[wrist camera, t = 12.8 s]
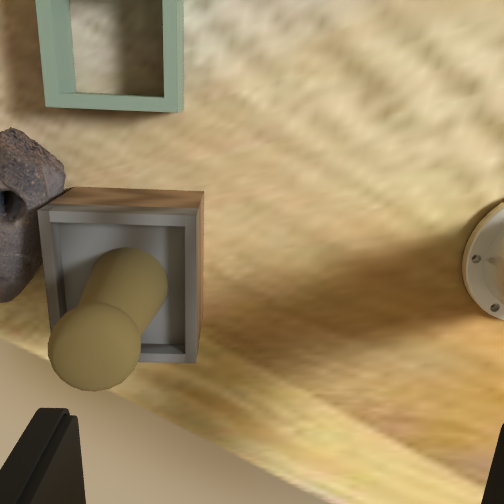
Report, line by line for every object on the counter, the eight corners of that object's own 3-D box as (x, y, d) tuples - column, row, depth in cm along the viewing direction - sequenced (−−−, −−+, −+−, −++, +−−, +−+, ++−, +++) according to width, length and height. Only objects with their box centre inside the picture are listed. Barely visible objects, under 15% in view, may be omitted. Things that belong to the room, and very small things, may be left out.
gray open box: (204, 191, 41) (196, 215, 33) (202, 315, 45) (195, 363, 37) (74, 186, 41) (37, 210, 33) (85, 313, 45) (53, 360, 37)
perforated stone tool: (43, 296, 44) (9, 334, 37) (-15, 277, 43) (-60, 312, 37) (86, 143, 40) (56, 155, 33) (23, 119, 39) (-21, 126, 32)
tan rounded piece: (83, 308, 37) (23, 395, 27) (97, 237, 35) (39, 301, 25) (159, 327, 38) (129, 418, 28) (177, 258, 36) (152, 329, 26)
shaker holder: (183, -24, 36) (176, -37, 32) (183, 109, 39) (178, 112, 35) (53, -31, 35) (30, -45, 31) (64, 104, 38) (45, 106, 35)
